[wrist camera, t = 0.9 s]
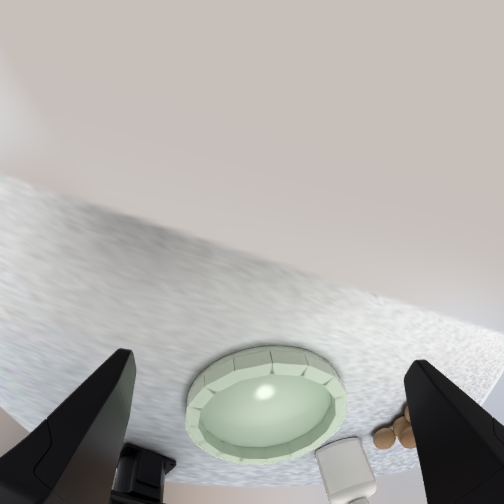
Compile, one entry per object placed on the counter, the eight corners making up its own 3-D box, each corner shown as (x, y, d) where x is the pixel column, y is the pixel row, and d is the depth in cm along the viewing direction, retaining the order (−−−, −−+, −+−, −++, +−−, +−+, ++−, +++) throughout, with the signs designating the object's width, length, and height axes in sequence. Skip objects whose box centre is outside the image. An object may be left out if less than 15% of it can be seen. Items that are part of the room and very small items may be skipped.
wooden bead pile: (394, 442, 35) (407, 468, 30) (365, 435, 33) (378, 465, 29) (436, 403, 33) (454, 428, 28) (412, 392, 31) (431, 421, 27)
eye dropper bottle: (322, 437, 32) (350, 524, 21) (364, 435, 33) (397, 513, 22) (310, 457, 34) (332, 538, 22) (349, 455, 34) (377, 529, 23)
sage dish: (279, 458, 33) (282, 474, 31) (161, 420, 29) (159, 438, 27) (369, 378, 29) (378, 394, 27) (243, 317, 25) (245, 335, 23)
